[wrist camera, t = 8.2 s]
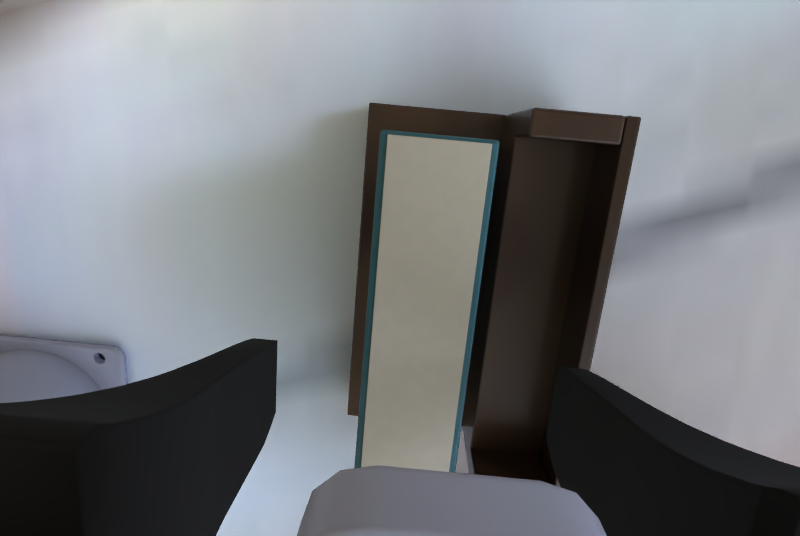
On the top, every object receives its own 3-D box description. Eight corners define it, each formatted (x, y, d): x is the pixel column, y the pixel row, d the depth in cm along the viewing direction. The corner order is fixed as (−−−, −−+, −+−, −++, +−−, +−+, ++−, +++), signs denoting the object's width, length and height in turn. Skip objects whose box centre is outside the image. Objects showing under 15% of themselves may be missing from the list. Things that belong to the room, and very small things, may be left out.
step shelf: (351, 396, 23) (327, 490, 17) (373, 105, 20) (352, 90, 14) (523, 413, 23) (561, 514, 17) (572, 123, 20) (642, 117, 14)
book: (371, 396, 22) (351, 504, 15) (393, 132, 19) (380, 129, 12) (441, 403, 21) (450, 515, 15) (473, 139, 19) (501, 140, 12)
